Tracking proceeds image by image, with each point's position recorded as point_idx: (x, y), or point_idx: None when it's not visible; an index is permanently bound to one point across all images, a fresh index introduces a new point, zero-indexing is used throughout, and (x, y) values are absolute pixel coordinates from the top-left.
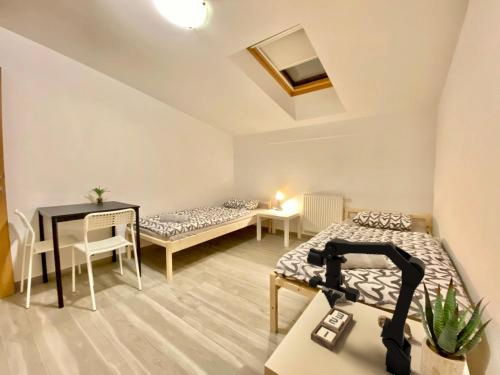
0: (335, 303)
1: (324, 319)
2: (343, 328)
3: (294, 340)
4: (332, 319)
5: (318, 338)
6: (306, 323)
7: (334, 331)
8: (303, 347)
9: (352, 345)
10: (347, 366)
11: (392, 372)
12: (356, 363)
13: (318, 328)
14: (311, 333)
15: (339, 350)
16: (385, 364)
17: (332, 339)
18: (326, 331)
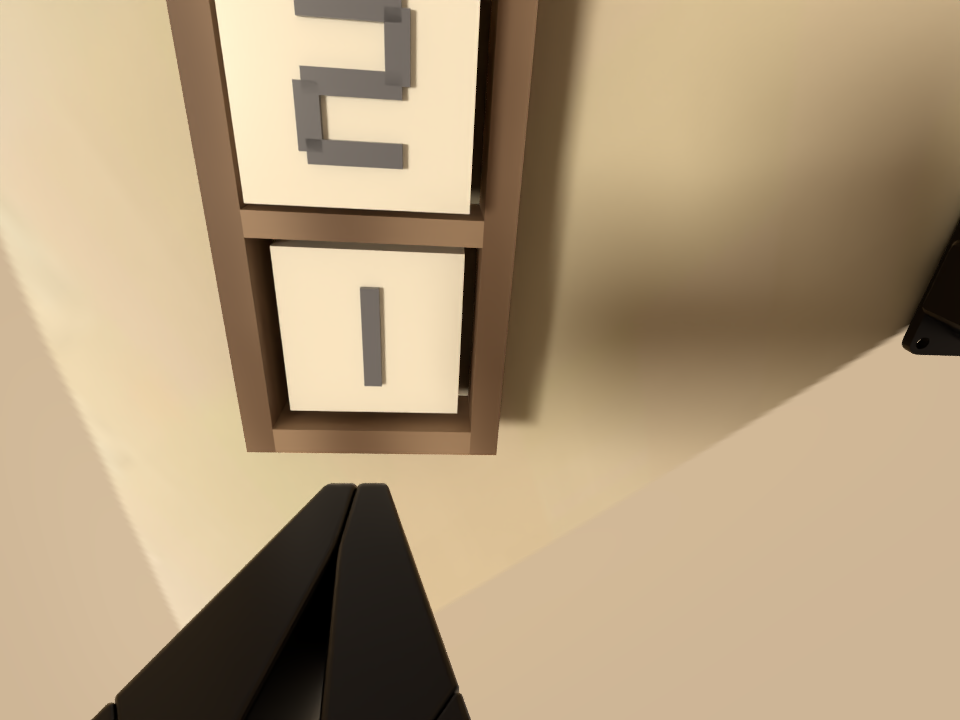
0: (425, 609)
1: (211, 86)
2: (522, 109)
3: (177, 505)
4: (324, 49)
5: (340, 446)
6: (69, 224)
7: (434, 241)
8: (280, 518)
9: (633, 228)
10: (619, 472)
11: (954, 344)
12: (679, 409)
13: (259, 323)
14: (254, 451)
15: (534, 371)
16: (926, 310)
17: (457, 366)
18: (353, 290)
